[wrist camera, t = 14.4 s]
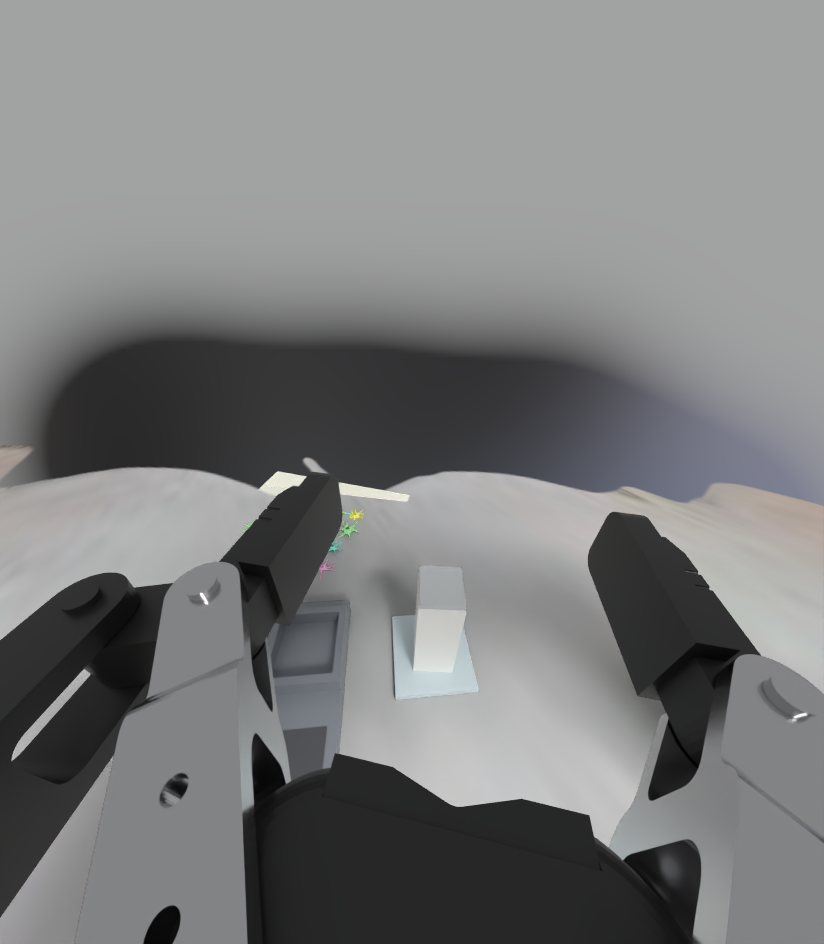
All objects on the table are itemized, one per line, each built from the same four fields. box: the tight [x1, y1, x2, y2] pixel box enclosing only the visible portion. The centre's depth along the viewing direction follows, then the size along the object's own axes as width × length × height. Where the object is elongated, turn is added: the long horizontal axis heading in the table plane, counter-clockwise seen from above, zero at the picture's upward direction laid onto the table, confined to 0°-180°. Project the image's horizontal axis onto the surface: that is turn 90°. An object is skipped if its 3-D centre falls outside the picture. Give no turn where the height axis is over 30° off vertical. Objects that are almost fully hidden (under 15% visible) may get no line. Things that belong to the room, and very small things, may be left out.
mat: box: [392, 615, 479, 700], centre depth 36 cm, size 9×9×1 cm
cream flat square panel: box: [229, 472, 410, 579], centre depth 52 cm, size 30×30×2 cm
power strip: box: [268, 600, 351, 781], centre depth 26 cm, size 8×30×4 cm, turn 5°
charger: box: [413, 565, 467, 672], centre depth 32 cm, size 4×4×13 cm
